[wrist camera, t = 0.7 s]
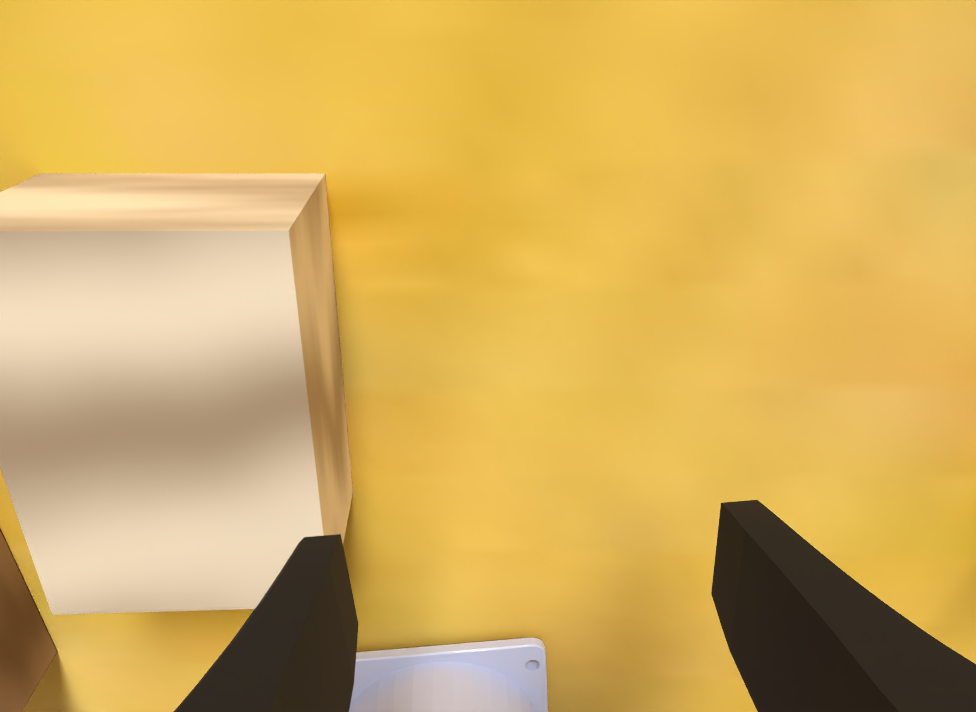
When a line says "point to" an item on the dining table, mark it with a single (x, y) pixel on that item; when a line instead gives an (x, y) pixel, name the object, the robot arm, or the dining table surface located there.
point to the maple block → (169, 384)
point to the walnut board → (19, 637)
